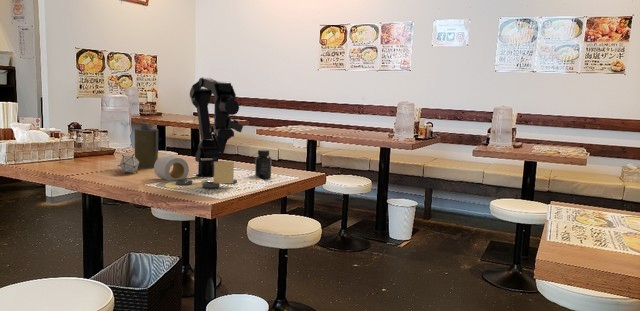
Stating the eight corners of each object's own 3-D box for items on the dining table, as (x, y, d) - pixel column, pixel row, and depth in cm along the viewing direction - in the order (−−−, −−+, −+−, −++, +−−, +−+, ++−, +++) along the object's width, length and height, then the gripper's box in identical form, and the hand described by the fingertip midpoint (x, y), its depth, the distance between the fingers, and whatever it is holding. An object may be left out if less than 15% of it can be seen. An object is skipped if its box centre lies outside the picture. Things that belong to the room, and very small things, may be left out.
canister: (129, 167, 222) (129, 123, 220) (143, 164, 232) (143, 122, 229) (149, 169, 219) (149, 124, 216) (163, 166, 229) (163, 123, 226)
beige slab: (204, 189, 174) (204, 163, 173) (201, 186, 180) (201, 160, 179) (234, 188, 179) (235, 162, 178) (231, 185, 184) (231, 160, 183)
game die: (124, 182, 207) (109, 163, 204) (136, 172, 214) (121, 154, 211) (138, 173, 203) (122, 154, 200) (149, 164, 210) (134, 145, 207)
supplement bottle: (273, 177, 213) (274, 150, 212) (267, 179, 207) (268, 151, 205) (258, 176, 215) (259, 148, 213) (252, 178, 208) (253, 150, 207)
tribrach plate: (170, 188, 180) (170, 182, 180) (202, 180, 199) (203, 174, 199) (211, 194, 174) (211, 187, 173) (241, 185, 192) (241, 179, 192)
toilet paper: (188, 182, 194) (189, 157, 193) (164, 184, 188) (164, 158, 186) (177, 178, 202) (177, 154, 200) (153, 180, 195) (153, 155, 194)
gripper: (247, 115, 188) (246, 155, 190) (236, 112, 205) (235, 149, 207) (218, 114, 183) (217, 155, 185) (209, 112, 200) (209, 149, 202)
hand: (221, 152), depth 195 cm, fingers open, 4 cm apart
